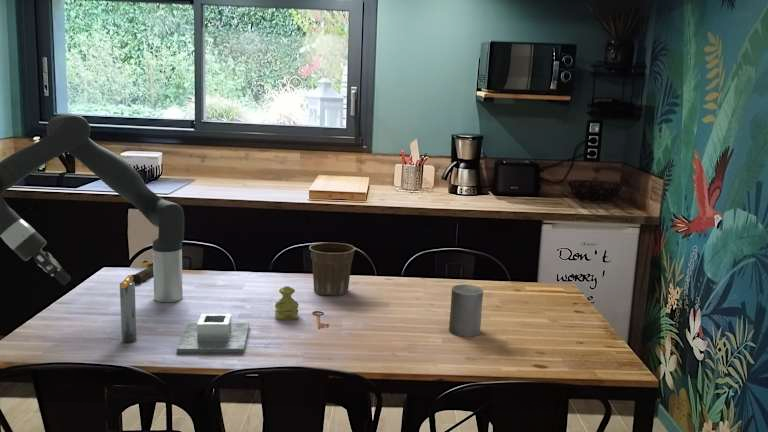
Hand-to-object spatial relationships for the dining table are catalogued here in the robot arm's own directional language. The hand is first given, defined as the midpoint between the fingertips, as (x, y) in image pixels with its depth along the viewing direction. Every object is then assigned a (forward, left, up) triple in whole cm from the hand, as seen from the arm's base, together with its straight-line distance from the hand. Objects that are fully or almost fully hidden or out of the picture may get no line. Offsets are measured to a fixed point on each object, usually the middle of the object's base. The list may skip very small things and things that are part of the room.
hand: (67, 282), depth 201 cm
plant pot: (-49, +74, -18) cm, 91 cm away
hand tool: (-65, +7, -18) cm, 68 cm away
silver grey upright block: (-2, +15, -18) cm, 24 cm away
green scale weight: (-22, +59, -18) cm, 66 cm away
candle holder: (-2, +39, -18) cm, 43 cm away
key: (-19, +70, -18) cm, 75 cm away
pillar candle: (-9, +114, -18) cm, 116 cm away
